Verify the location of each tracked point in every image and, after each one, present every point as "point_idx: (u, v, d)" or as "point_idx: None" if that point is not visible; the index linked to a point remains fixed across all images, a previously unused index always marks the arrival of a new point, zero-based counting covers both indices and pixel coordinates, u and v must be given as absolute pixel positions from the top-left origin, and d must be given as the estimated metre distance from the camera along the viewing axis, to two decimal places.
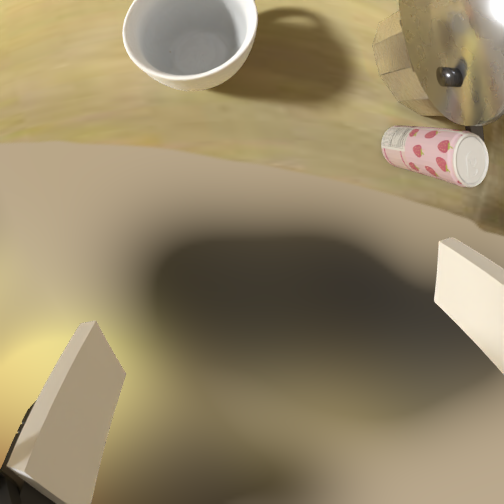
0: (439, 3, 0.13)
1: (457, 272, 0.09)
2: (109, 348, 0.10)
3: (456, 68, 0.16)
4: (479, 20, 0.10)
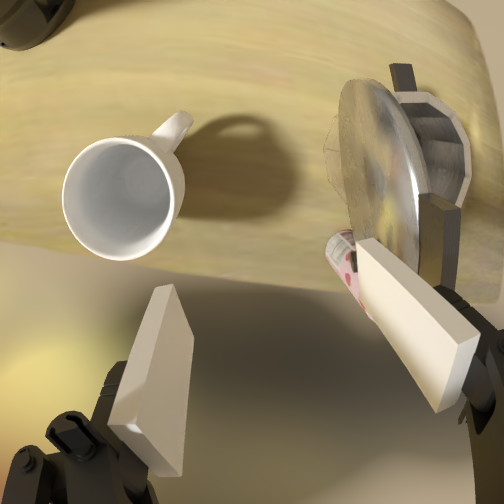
0: (366, 175, 0.19)
1: (370, 272, 0.10)
2: (182, 311, 0.12)
3: None
4: (392, 236, 0.16)
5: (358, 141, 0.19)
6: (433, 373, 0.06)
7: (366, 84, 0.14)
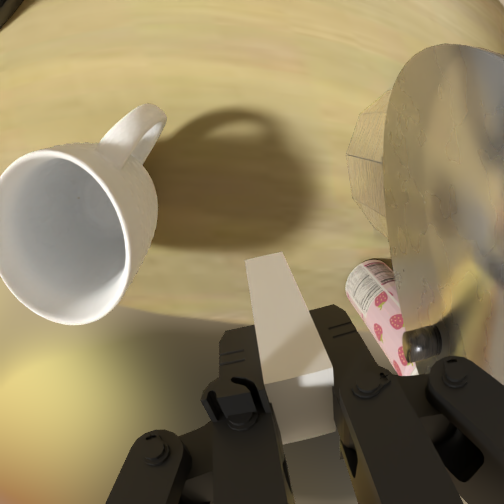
0: (452, 218, 0.10)
1: None
2: None
3: (438, 330, 0.12)
4: (503, 347, 0.07)
5: (439, 156, 0.10)
6: None
7: (485, 52, 0.05)
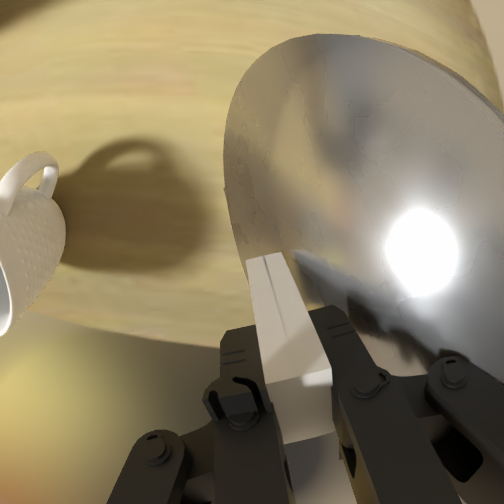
0: (319, 252, 0.10)
1: None
2: None
3: None
4: None
5: (292, 180, 0.09)
6: None
7: (354, 36, 0.05)
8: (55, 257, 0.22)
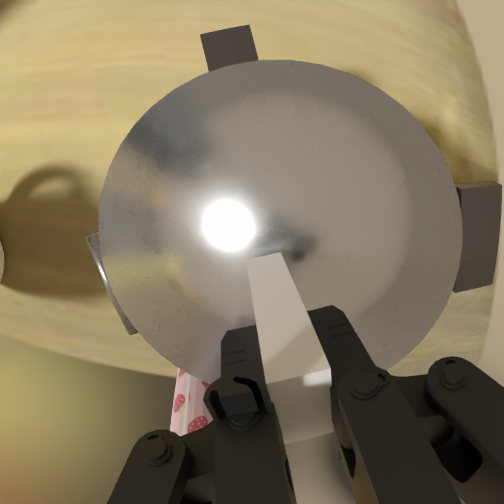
0: (276, 229, 0.12)
1: None
2: None
3: None
4: (391, 273, 0.12)
5: (240, 177, 0.11)
6: None
7: (322, 65, 0.09)
8: None
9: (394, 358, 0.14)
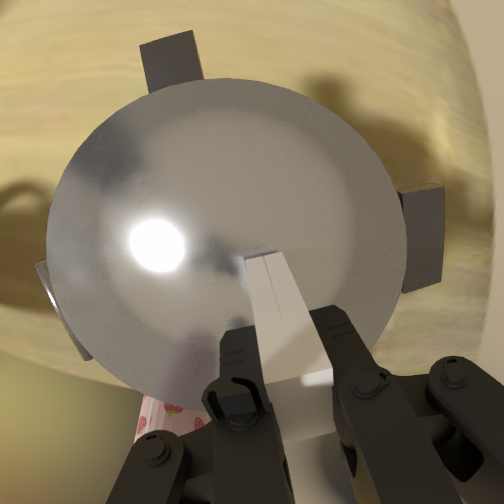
0: (220, 247, 0.12)
1: None
2: None
3: None
4: (337, 281, 0.13)
5: (181, 198, 0.11)
6: None
7: (261, 82, 0.10)
8: None
9: None
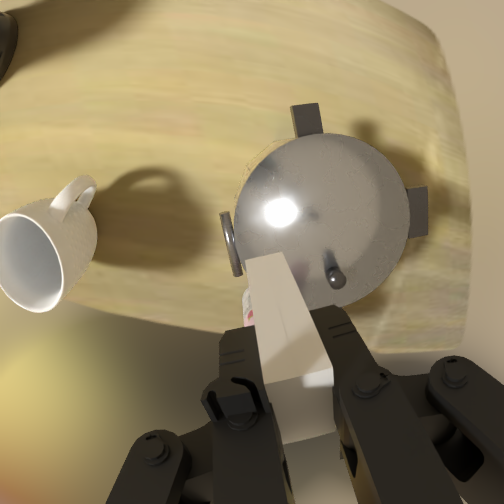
0: (331, 207, 0.26)
1: None
2: None
3: (334, 266, 0.28)
4: (379, 228, 0.27)
5: (317, 184, 0.25)
6: None
7: None
8: (91, 254, 0.32)
9: (383, 276, 0.28)
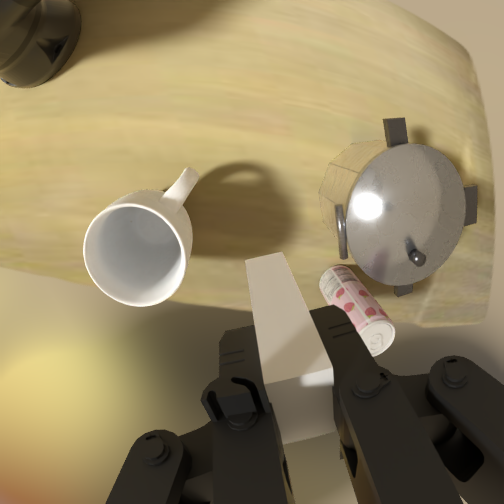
0: (416, 202, 0.30)
1: None
2: None
3: (415, 248, 0.32)
4: (445, 218, 0.31)
5: (408, 183, 0.29)
6: None
7: None
8: None
9: (446, 256, 0.33)
